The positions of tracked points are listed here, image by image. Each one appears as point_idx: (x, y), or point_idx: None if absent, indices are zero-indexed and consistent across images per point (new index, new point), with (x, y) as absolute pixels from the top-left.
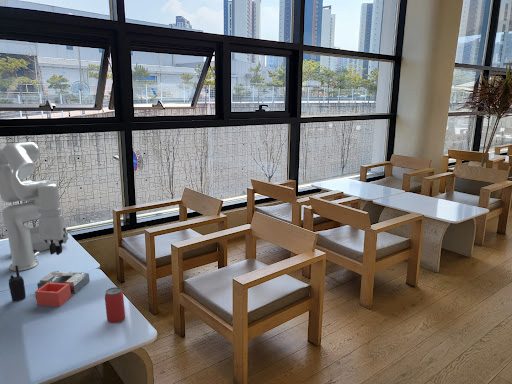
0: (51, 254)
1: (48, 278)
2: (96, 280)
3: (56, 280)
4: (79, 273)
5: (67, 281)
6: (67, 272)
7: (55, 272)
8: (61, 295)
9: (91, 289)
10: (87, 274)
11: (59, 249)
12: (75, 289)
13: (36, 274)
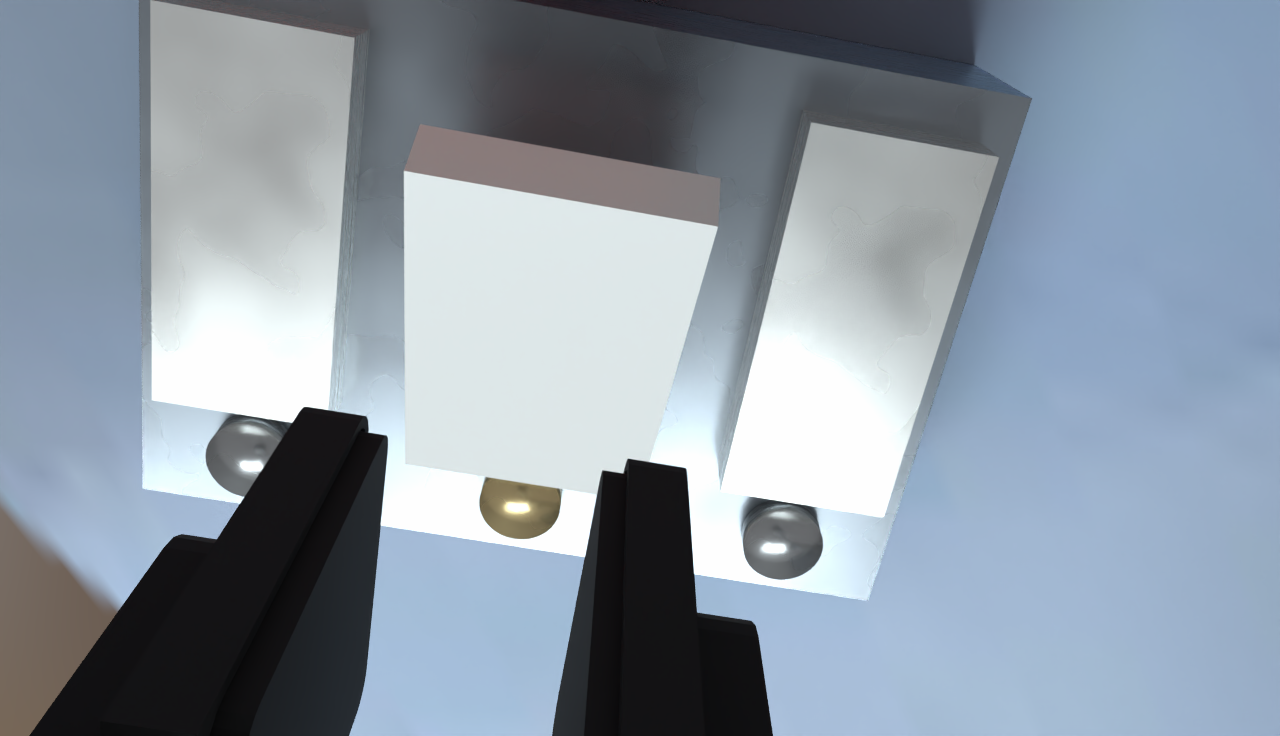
0: (650, 463)
1: (829, 231)
2: (109, 437)
3: None
4: None
5: (314, 47)
6: (476, 415)
7: (611, 204)
8: None
9: (7, 109)
10: (142, 446)
11: (131, 622)
12: None
13: (1209, 684)
